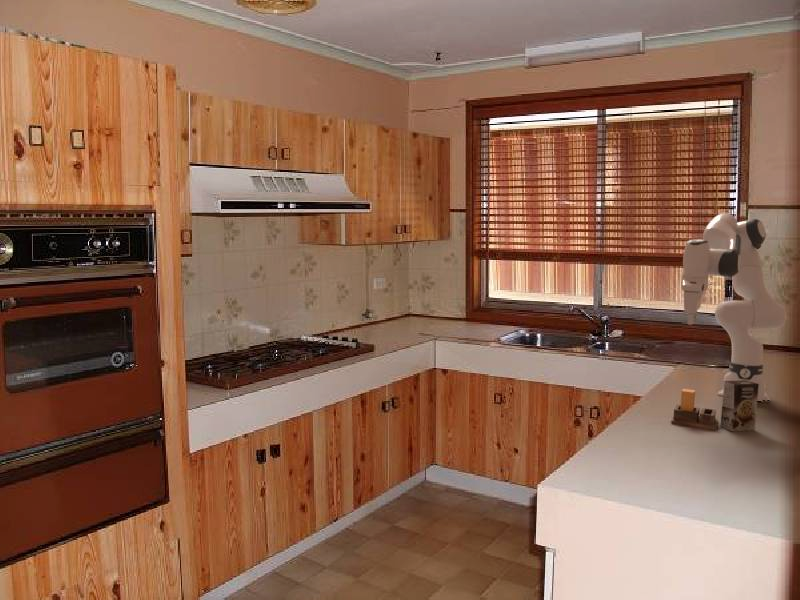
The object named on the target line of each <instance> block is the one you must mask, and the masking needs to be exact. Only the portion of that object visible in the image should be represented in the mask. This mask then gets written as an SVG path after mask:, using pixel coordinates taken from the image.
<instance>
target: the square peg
mask: <svg viewBox="0 0 800 600" xmlns="http://www.w3.org/2000/svg"><path fill="white" fill-rule="evenodd" d="M680 395H681V398H680V405H681V408H680V410H685V411H692V412H694V407H695V398H696V389H695V390H694V389H689V388H682V390H681V394H680Z"/></svg>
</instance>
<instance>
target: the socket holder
mask: <svg viewBox="0 0 800 600" xmlns="http://www.w3.org/2000/svg"><path fill="white" fill-rule="evenodd" d="M680 408H681V404H680V405H679V404H676V405H675V408H674V409H673V417H672V419H671V420H670V424H671V423H672V424H671V425H676V424H679V425H678V426H683V425H684V426H685V427H690V426H691V427H692V428H696V429H697V428H698V429H703V428H704V430H710V429H711V430H712V431H716V429H717V425H718V423H719V418H716V417H717V416H716V415H717V414H716V413H717V409H713V408H707V407H702V408H700V407H695V406H694V412H692V411H685V410H680ZM700 409H701V410H700Z"/></svg>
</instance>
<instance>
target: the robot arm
mask: <svg viewBox="0 0 800 600" xmlns="http://www.w3.org/2000/svg"><path fill="white" fill-rule="evenodd" d="M766 237H767V236H766V229H765V226H764V224H763V222H762V221H761V220H759V219H757V218H751V219H747V220H743V221H738V220H737V218H736V217H735V216H734V215H732V214H730V213H727V212H722V213H719V214H717V215H716V216H714V217H713V218H712V219H711V220H710V221H709V222H708V224H707V225H706V227H705V228H704V229H703V234H702V238H695V239H690V240H687V241H686V242H685V245H684V246H685V247H684V250H683V258H682V266H683V271H682V274H681V284H680V286H681V287H680V289H681V290H682V292H683V311H684V313H685V314H686V313H687V314H686V316H687V325H689V326H692V325H693V324H694V323H695V322H696V321H697V314H698V310H699V309H700V308H701V304H702V296H703V295H704V293H705V291H708V288H709V287H708V286H709V276H719V277H720V276H721V277H727V278H732V288H733V290H734V292H735V294H737V295H738V296H740V297H742V298H744V299H745V300H738V299H737V300H736V299H735V300H725V301H721V302H720V303H719V304H718V305H717V307H716V308H715V311H714V317H715V321H716V322H717V323H718V325H720V326H721V327H722V328H723V329H724V330H725V331H726V332H727V335H728V336H729V338H730V341H731V358H730V359H731V361H730V362H729V364H728V365H729V369H728V370H729V372H727V373H726V374H725V375H724V378H723V381H738V380H746V381H750V382H754V383H757V384H759V387H758V398H757V401H761V402H763V401H762V400H770V401H771V397H769V396H768V395H767V393H766V391H767V388H766V386H767V385H766V384H767V381H766V379H765V377H764V376H763V372H764V365H763V357H764V356H763V355H764V346H763V343H762V342H761V341H760V340H758V339H756V338H755V337H753V336H751V335H750V334H749V330H766V331H767V330H776V329H781V328H783V326H784V325H785V323H786V322H787V319H788V312H787V309H786V308H785V307H784V305H782V304H781V303H779V302H778V301H776V300H775V299H774V298H773V297H772V296H771V295H770V294H769V293H768V291H767V288H766V287H765V282H764V275H763V274H764V273H763V265H762V261H761V260H762V259H761V257H760V255H759V251H758V250H760V249H761V247H762V244H763V243H764V241H765V239H766ZM722 387H723V388H722V389H721V390H718V392H717V395H719V396H721V397H723V392H724V384H723V386H722Z"/></svg>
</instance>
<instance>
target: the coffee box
mask: <svg viewBox="0 0 800 600" xmlns="http://www.w3.org/2000/svg"><path fill="white" fill-rule="evenodd" d="M723 381H724V380H723ZM723 385H724V386H723V387H724V392H723V396H722V403H721V404H722V405H721V406H722V407H721V414H720V427H721V428H724V429H725V430H728V431H731V432H743V431H744V430H748V431H755V430H756V419H757V418H756V417H757V407H758V402H757V398H758V387H759V384H757V383H754V382H750V381H746V380H738V381H724V382H723ZM744 432H745V431H744Z"/></svg>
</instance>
